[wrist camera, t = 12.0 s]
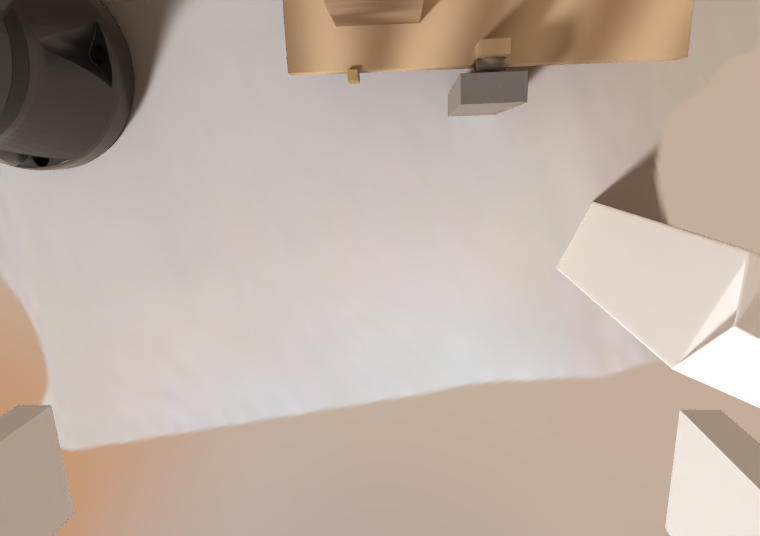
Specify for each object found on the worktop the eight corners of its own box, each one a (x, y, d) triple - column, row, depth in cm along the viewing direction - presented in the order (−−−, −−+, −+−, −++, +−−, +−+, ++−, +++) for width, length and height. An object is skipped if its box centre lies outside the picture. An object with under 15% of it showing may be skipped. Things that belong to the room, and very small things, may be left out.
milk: (621, 296, 40) (852, 471, 19) (554, 267, 40) (711, 410, 19) (661, 229, 39) (962, 337, 17) (591, 198, 38) (810, 269, 17)
